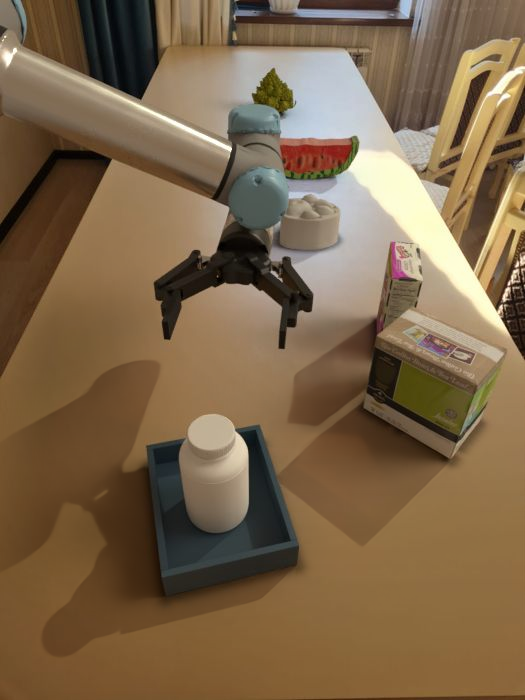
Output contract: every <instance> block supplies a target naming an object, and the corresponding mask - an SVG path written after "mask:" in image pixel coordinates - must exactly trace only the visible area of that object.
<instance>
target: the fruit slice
mask: <svg viewBox="0 0 525 700" xmlns="http://www.w3.org/2000/svg"><path fill="white" fill-rule="evenodd" d="M359 149H360V139H359V137H358V135H352V136H350V137H346V138H345V137H344V138H315V137H301V138H290V137H280V151H281V156H282V161H283V168H284V172H285V176H286V178H290V179H295V180H314V179H320V178H329V177H333V176H337V175H341V174H342V173H345V171H347V170H349V168H350V167H351V165H352V163H353V162H354V160H355V158H356V157H357V155H358V153H359Z"/></svg>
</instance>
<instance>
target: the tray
mask: <svg viewBox="0 0 525 700" xmlns="http://www.w3.org/2000/svg"><path fill="white" fill-rule="evenodd" d="M235 431H236V432H237V433H238V434H239V435H240V436H241V437H242V438H243V440H244V441H245V443H246V446H247V449H248V474H249V505H248V510H247V513H246V516H245V517H244V519H243V520H242V522H241V523H240V524H239V525H238V526H236V527H235V528H233V529H232V530H229V531H227V532H223V533H209V532H205V531H203V530H201V529H199V528H198V527H196V526H195V525H194V524H193V523H192V521H191V520H190V518H189V516H188V513H187V510H186V504H185V498H184V491H183V484H182V478H181V471H180V464H179V452H180V449H181V446H182V444H183V442H184V440H185V439H186V438H187V437H183V438H179V439H173V440H166V441H162V442H157V443H151V444H147V445H145V449H146V456H147V457H146V458H147V466H148V473H149V475H148V476H149V482H150V491H151V499H152V509H153V517H154V526H155V533H156V534H155V536H156V541H157V542H156V543H157V551H158V559H159V568H160V577H161V582H162V586H163V590H164V594H165V597H168V596H173V595H177V594H182V593H186V592H190V591H194V590H197V589H201V588H207V587H210V586H214V585H218V584H223V583H227V582H230V581H235V580H239V579H243V578H248V577H252V576H256V575H260V574H264V573H268V572H272V571H276V570H281V569H285V568H289V567H293V566H297V565H298V562H299V561H298V560H299V552H300V543H299V540H298V537H297V534H296V530H295V527H294V525H293V521H292V518H291V515H290V512H289V509H288V506H287V504H286V500H285V497H284V494H283V491H282V489H281V484H280V482H279V479H278V476H277V472H276V470H275V466H274V464H273V460H272V458H271V455H270V452H269V448H268V445H267V441H266V439H265V436H264V433H263V429H262V426H261V424H259V423H258V424H254V425H249V426H248V425H247V426H243V427H238V428H235Z"/></svg>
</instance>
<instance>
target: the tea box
mask: <svg viewBox="0 0 525 700" xmlns="http://www.w3.org/2000/svg"><path fill="white" fill-rule="evenodd" d="M508 350H509V349H508V348H506V347H504V346H503V345H500V344H497V343H496V342H493V341H491V340H488V339H486V338H485V337H482V336H480V335H477V334H475V333H473V332H470V331H468V330H467V329H464V328H462V327H459V326H457V325H455V324H453V323H451V322H449V321H446V320H444V319H442V318H439V317H437V316H435V315H433V314H430V313H428V312H426V311H423V310H421V309H418V308H417V307H416V308H415V307H412V306H411V307H410V308H409V309H408V310H407V311H405V312H404V313H403V314H402V315H401V316H399V317H398V318H397V319H396V320H395V321H394V322H392V323H391V324H390V325H389V326H388V327H386V328H385V329H384V330H383V331H382V332H381V333H379V334H378V335H377V334H376V336H375V342H374V346H373V352H372V357H371V363H370V368H369V373H368V379H367V384H366V390H365V395H364V401H363V409H365V410H367V412H370V413H371V414H373V415H374V416H377V417H378V418H380V419H382V420H384V421H385V422H386V423H388V424H390V425H392V426H393V427H395V428H397V429H398V430H400V431H403V432H404V433H406V434H407V435H409V436H410V437H412V438H413V439H415V440H417V441H419V442H420V443H422V444H424V445H426V446H427V447H429V448H431V449H432V450H434V451H436V452H437V453H439V454H441V455H442V456H444V457H446V458H448V459H450V460H451V459H453V457H454V456H455V454H456V453H457V452H458V450H459V448H461V446H462V445H463V443H464V442H465V441H466V439H467V438H468V437H469V435H470V434H471V433H472V432H473V430H475V428H476V427H477V425H478V424H479V423H480V421H481V419H482V416H483V415H484V412H485V410H486V408H487V405H488V403H489V401H490V398H491V396H492V393H493V390H494V387H495V385H496V382H497V380H498V378H499V374H500V373H501V369H502V367H503V364H504V362H505V360H506V357H507V354H508Z"/></svg>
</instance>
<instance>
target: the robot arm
mask: <svg viewBox="0 0 525 700" xmlns="http://www.w3.org/2000/svg"><path fill="white" fill-rule="evenodd" d="M27 29H28V21H27V15H26V11H25V9H24V6H23V3H22V1H21V0H0V117H2V116H5V117H9V118H11V119H13V120H16V121H18V122H21V123H24V124H26V125H28V126H31V127H33V128H36V129H37V130H40V131H43V132H45V133H48V134H50V135H53V136H55V137H58V138H60V139H63V140H65V141H67V142H70V143H72V144H75V145H77V146H79V147H82V148H85V149H87V150H89V151H92V152H94V153H97V154H99V155H101V156H104V157H107V158H109V159H111V160H114V161H116V162H119V163H121V164H124V165H126V166H129V167H131V168H133V169H136V170H139V171H141V172H144V173H146V174H148V175H150V176H153V177H155V178H158V179H161V180H162V181H165V182H168V183H170V184H172V185H175V186H178V187H180V188H182V189H184V190H187V191H190V192H192V193H195V194H196V195H199V196H202V197H205V198H207V199H209V200H211V201H213V202H215V203H218V204H221V205H223V206H226V207H228V212H227V216H226V218H225V222H224V224H223V228H222V231H221V235H220V238H219V241H218V244H217V246H216V250H215V252H214V253H213V254H212V255H210V256H208V255H202V254H201V252H202V251H201V250H200V249H194V250H192V251H191V252H190V254H189V256H187V258H185V259H184V260H183V261H181V262H180V263H178V264H177V265H175V266H174V267H173V268H171V269H170V270H169V271H167V272H165V274H163V275H161V276H160V277H159V278H157V279H155V280H154V281H153V284H152V285H153V290H154V299H155V301H157V302H161V303H160V306H159V307H160V313H161V317H162V318H161V319H162V320H161V328H162V335H163V340H165V341H171V339H172V336H173V333H174V330H175V328H176V324H177V323H178V319H179V317H180V314H181V311H182V307H183V306H182V302H183V301H185V300H187V299H189V298H192V297H193V296H196V295H197V294H199V293H200V294H201V292H203V291H205V290H208V289H209V288H218V287H220V286H222V285H224V284H226V285H241V286H250V285H251V286H253V287H254V288H255V289H256V290H258V291H259V292H264V293H265V294H266V295H267V296H268V297H269V298H271V299H272V300H273V301H274V302H275V303H276V304H278V306H280V307H281V313H280V322H279V329H278V347H277V348H278V349H277V350H286V340H287V331H288V328H292V329H295V328H296V327H297V325H298V314H299V312H301V311H303V312H304V313H306V314H307V313H312V312H313V306H314V295H315V294H314V293H313V290H312V289H310V287H309V286H308V284H306V282H305V281H304V279H303V278H302V277H301V275H300V274H299V273H298V271H297V270H296V269H295V267H294V266H293V264H292V258H291V257H290V256H289V255H285V256H282V257H281V261H277V260H276V261H275V260H274V261H273V260H271V258H270V257H271V251H272V245H273V240H274V233H275V226H276V225H277V224H279V223H280V220H281V219H282V218H283V217H284V215H285V214H286V211H287V209H288V204H289V199H290V197H289V196H290V195H289V194H290V191H289V188H290V185H289V182H288V181H289V180H288V179H287V176H285V172H284V168H283V161H282V156H281V151H280V138H281V134H282V129H281V115H280V114H279V113H278V111H277V110H276V109H274V108H272V107H270V106H266V105H260V104H254V103H247V104H242V105H241V104H240V105H238V106H236V107H234V108H232V109H231V110H230V111H229V113H228V116H227V131H226V134H227V138H226V137H223V136H221V135H220V134H216V133H215V132H213V131H210V130H208V129H206V128H204V127H201V126H199V125H197V124H194V123H193V122H190V121H188V120H186V119H184V118H182V117H179V116H177V115H175V114H173V113H171V112H169V111H166V110H165V109H162V108H159V107H157V106H155V105H153V104H150V103H149V102H146V101H144V100H142V99H139V98H137V97H135V96H133V95H130V94H128V93H126V92H124V91H122V90H120V89H117V88H115V87H113V86H111V85H109V84H106V83H104V82H103V81H100V80H98V79H95V78H93V77H91V76H89V75H88V74H87V75H86V74H85V73H83V72H80V71H78V70H75V69H73V68H71V67H69V66H68V65H65V64H62V63H60V62H58V61H56V60H54V59H52V58H49V57H47V56H45V55H43V54H41V53H38V52H36V51H34V50H32V49H29V48H27V47H25V46H23V45H24V42H25V39H26V36H27ZM272 272H275V274H276V275H277V277H276V276H275V274H273V273H272ZM280 279H281V280H280Z"/></svg>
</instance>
